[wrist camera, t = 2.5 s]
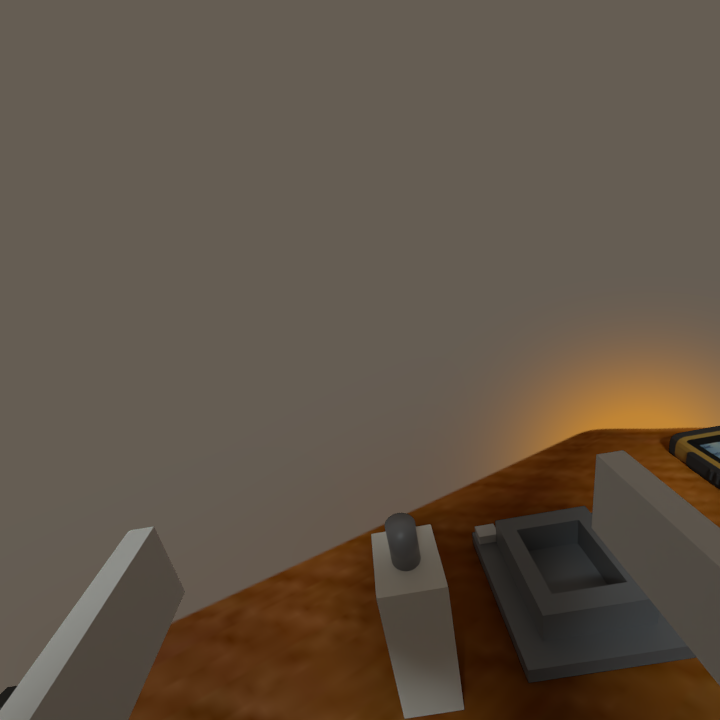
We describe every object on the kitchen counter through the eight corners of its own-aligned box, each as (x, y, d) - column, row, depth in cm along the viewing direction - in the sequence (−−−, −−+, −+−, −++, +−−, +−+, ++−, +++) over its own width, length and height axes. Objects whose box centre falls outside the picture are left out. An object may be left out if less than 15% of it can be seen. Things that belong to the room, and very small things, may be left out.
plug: (446, 637, 32) (425, 492, 26) (464, 709, 27) (443, 551, 21) (395, 645, 32) (364, 502, 26) (404, 718, 27) (368, 563, 21)
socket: (591, 523, 39) (593, 490, 38) (701, 656, 27) (710, 616, 26) (473, 542, 40) (469, 511, 38) (528, 682, 28) (527, 644, 26)
